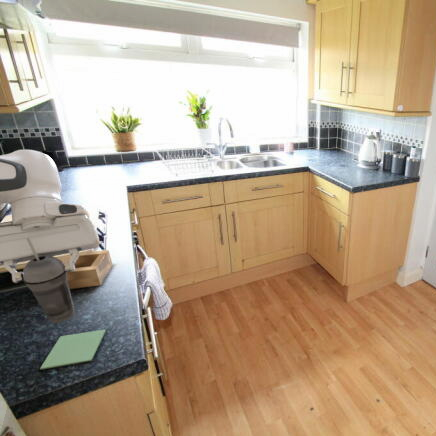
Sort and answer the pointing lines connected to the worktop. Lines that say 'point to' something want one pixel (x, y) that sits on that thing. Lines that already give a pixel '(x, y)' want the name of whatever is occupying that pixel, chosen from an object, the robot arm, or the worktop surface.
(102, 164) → the worktop surface
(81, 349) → the mat
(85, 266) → the holder
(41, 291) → the beverage cup
